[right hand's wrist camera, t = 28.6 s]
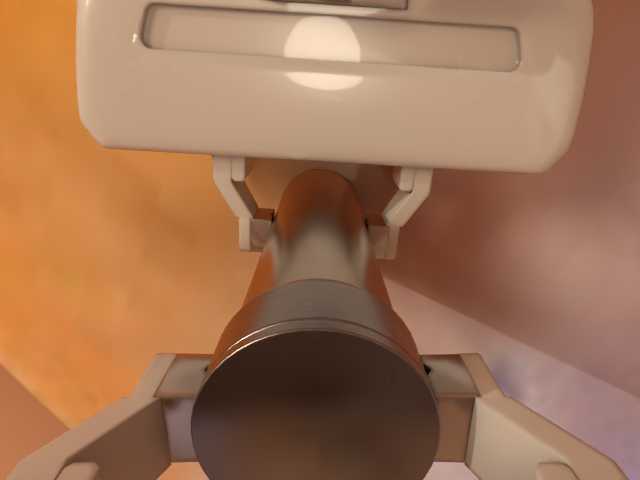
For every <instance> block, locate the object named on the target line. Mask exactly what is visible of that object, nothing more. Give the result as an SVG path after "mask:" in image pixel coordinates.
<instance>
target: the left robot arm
mask: <svg viewBox="0 0 640 480" xmlns="http://www.w3.org/2000/svg"><path fill="white" fill-rule="evenodd" d="M76 3H77V22H76V80H77V97H78V109H79V116H80V120H81V122H82V124H83V126H84V127H85V128H86V129H87V131H88V132H89V133H90V134H91V135H92V137H93V138H94V139H95V140H96V141H97V142H98V143H99V144H100V145H101V146H102V147H104V148H108V149H122V150H138V151H155V152H171V153H188V154H204V155H213V181H214V182H215V184H216V185H217V187H218V189H219V190H220V192H221V194H222V195H223V197H224V198H225V200H226V202H227V203H228V205H229V206H230V208H231V210H232V211H233V213H234V214H235V216H236V217H237V218H239V248H240V251H244V252H262V251H263V248H264V245H265V243H266V240H267V237H268V234H269V232H270V229H271V226H272V223H273V221H274V218H275V209H266V208H258V205H257V203H256V201H255V200H254V198H253V196H252V194H251V192H250V190H249V188H248V187H247V185H246V183H245V181H244V179H245V178H246V177H247V176H248V174H249V173H250V172H251V170H252V157H254V158H271V159H287V160H304V161H320V162H337V163H353V164H370V165H386V166H393V175H392V179H393V180H394V182H395V183H396V184H397V186H398V187H399V189H398V191H397V192H396V194H395V195H394V196H393V198H392V199H391V201H390V202H389V204H388V205H387V206H386V208H385V209H384V211H383V212H382V213H381V215H367V214H365V218H364V222H365V225H366V228H367V231H368V235H369V238H370V241H371V244H372V247H373V250H374V253H375V256H376V259H387V260H394V259H395V257H396V253H397V246H398V238H399V231H400V227H403V226H404V225H405V224H406V222H407V221H408V220H409V219H410V218H411V216H412V215H413V214H414V213H415V211H416V210H417V209H418V208H419V206H420V205H421V204H422V203H423V201H424V200H425V199H426V198H427V197H428V195H429V194H430V190H431V183H432V177H433V171H434V168H436V169H452V170H469V171H485V172H502V173H518V174H535V175H539V174H544V173H545V172H547V171H548V170H549V169H550V168H552V167H553V166H554V165H555V164H556V163H557V162H558V161H559V160H560V159H561V158H562V157H563V156H564V155H565V154H566V153H567V152H568V150H569V148H570V146H571V143H572V141H573V138H574V134H575V131H576V127H577V123H578V119H579V115H580V111H581V106H582V102H583V97H584V92H585V88H586V82H587V76H588V71H589V65H590V58H591V52H592V45H593V36H594V8H593V3H592V0H76Z"/></svg>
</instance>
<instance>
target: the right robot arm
mask: <svg viewBox="0 0 640 480" xmlns="http://www.w3.org/2000/svg"><path fill="white" fill-rule="evenodd" d="M212 357H213V354H177V353H159V354H157V355H155V356H154V358H153V360H152V361H151V363H150V365H149V366H148V368H147V369H146V371H145V373H144V374H143V376H142V378H141V379H140V381H139V383H138V384H137V386H136V388H135V389H134V391H133V393H132V394H131V396H130V397H123V398H122V399H120V400H119V401H117V402H115V403H114V404H112V405H110V406H109V407H107V408H105V409H104V410H102V411H101V412H99V413H97V414H96V415H94V416H92V417H91V418H89V419H87V420H86V421H84V422H83V423H81V424H79V425H78V426H76V427H74V428H73V429H71V430H70V431H68V432H66V433H65V434H63V435H61V436H60V437H58V438H56V439H55V440H53V441H52V442H50V443H48V444H47V445H45V446H43V447H42V448H40V449H38V450H37V451H35V452H34V453H32V454H30V455H29V456H27V457H26V458H24V459H22V460H21V461H20V462H19V463H18V464H17V466H16V467H15V468H14V470H13V471H12V472H11V473H10V475H9V476H8V477H7V478H6V480H156V479H157V478H158V477H159V476H160V475H161V474H162V473H163V472H164V471H165V470H166V469H167V468H168V467H169V466H170V465H171V462H199V461H198V459H197V457H196V454H195V451H194V448H193V443H192V437H191V415H192V409H193V405H194V402H195V399H196V396H197V393H198V391H199V388H200V386H201V384H202V381H203V379H204V376H205V374H206V371H207V369H208V367H209V364H210V362H211V359H212ZM420 358H421V361H422V363H423V366H424V369H425V372H426V374H427V377H428V380H429V383H430V385H431V388H432V391H433V394H434V396H435V399H436V402H437V406H438V410H439V414H440V424H441V432H440V442H439V446H438V450H437V454H436V457H435V459H434V461H433V462H465V465H466V466H467V467H468V468H469V469H470V470H471V471H472V472H473V473H474V474H475V475H476V476H477V477H478V478H479V479H480V480H629V479H628V478H627V477H626V475H625V474H624V473H623V471H622V470H621V469H620V467H619V466H618V465H617V464H616V462H615V461H614V460H612V459H610V458H609V457H607V456H606V455H604V454H602V453H601V452H599V451H598V450H596V449H594V448H593V447H591V446H589V445H588V444H586V443H585V442H583V441H581V440H580V439H578V438H577V437H575V436H573V435H572V434H570V433H569V432H567V431H565V430H564V429H562V428H560V427H559V426H557V425H556V424H554V423H552V422H551V421H549V420H548V419H546V418H544V417H543V416H541V415H540V414H538V413H536V412H535V411H533V410H531V409H530V408H528V407H527V406H525V405H523V404H522V403H520V402H519V401H517V400H515V399H514V398H512V397H505V395H504V394H503V392H502V390H501V388H500V387H499V385H498V383H497V382H496V380H495V378H494V377H493V375H492V373H491V372H490V370H489V368H488V367H487V365H486V363H485V362H484V360H483V358H482V356H481V355H480V354H478V353H467V354H444V355H420Z"/></svg>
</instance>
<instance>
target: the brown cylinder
mask: <svg viewBox="0 0 640 480" xmlns="http://www.w3.org/2000/svg"><path fill="white" fill-rule="evenodd" d="M304 281H327V282H336V283H340V284H345V285H349V286H352V287H355V288H358V289H361V290H363V291H365V292H367V293H369V294H371V295H373V296H375V297H377V298H378V299H380V300H381V301H382V302H384V303H385V304H387V305H388V306H389V307H390V308H391V309H392V310H393V308H392V305H391V302H390V299H389V296H388V292H387V289H386V286H385V283H384V280H383V277H382V274H381V271H380V268H379V265H378V262H377V259H376V256H375V253H374V250H373V247H372V244H371V241H370V238H369V235H368V231H367V228H366V225H365V222H364V219H363V216H362V213H361V210H360V207H359V204H358V201H357V198H356V195H355V192H354V190H353V188H352V187H351V185H350V184H349V183H348V182H347V180H346V179H344V178H343V177H342V176H340V175H339V174H337V173H335V172H332V171H329V170H324V169H315V170H309V171H306V172H303V173H301V174H300V175H298V176H296V177H295V178H294V179H293V180H292V181H291V182H290V183H289V184H288V186H287V187H286V189H285V191H284V193H283V196H282V198H281V201H280V204H279V207H278V209H277V212H276V215H275V218H274V221H273V223H272V226H271V229H270V232H269V234H268V237H267V240H266V243H265V245H264V248H263V251H262V254H261V256H260V259H259V262H258V265H257V267H256V270H255V273H254V276H253V278H252V281H251V284H250V287H249V289H248V292H247V295H246V298H245V300H244V303H243V306H242V307H244V306H245V305H246V304H248V303H249V302H250V301H252V300H253V299H255V298H256V297H258V296H260V295H262V294H263V293H265V292H267V291H270V290H272V289H275V288H277V287H280V286H284V285H288V284H291V283H298V282H304Z"/></svg>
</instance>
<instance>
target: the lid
mask: <svg viewBox="0 0 640 480" xmlns="http://www.w3.org/2000/svg"><path fill="white" fill-rule="evenodd" d="M440 432H441V424H440V414H439V410H438V406H437V402H436V399H435V396H434V394H433V391H432V388H431V385H430V383H429V380H428V377H427V374H426V372H425V369H424V366H423V363H422V361H421V358H420V355H419V352H418V350H417V347H416V344H415V342H414V339H413V337H412V335H411V333H410V331H409V329H408V328H407V326H406V325H405V323H404V322H403V320H402V319H401V318H400V317H399V316H398V315H397V313H396V312H395V311H393V310H392V309H391V308H390V307H389V306H388V305H387V304H385V303H384V302H382V301H381V300H380V299H378V298H377V297H375V296H373V295H371V294H369V293H367V292H365V291H363V290H361V289H358V288H355V287H352V286H349V285H345V284H340V283H336V282H327V281H304V282H298V283H291V284H288V285H284V286H280V287H277V288H275V289H272V290H270V291H267V292H265V293H263V294H262V295H260V296H258V297H256V298H255V299H253V300H252V301H250V302H249V303H248V304H246V305H245V306H244V307H242V308H241V309H240V311H239V312H238V313H237V314H236V315H235V316H234V317H233V318H232V319H231V321H230V322H229V323H228V325H227V326H226V328H225V330H224V332H223V334H222V335H221V337H220V340H219V342H218V345H217V347H216V350H215V352H214V354H213V357H212V359H211V362H210V364H209V367H208V369H207V371H206V374H205V376H204V379H203V381H202V384H201V386H200V388H199V391H198V393H197V396H196V399H195V402H194V405H193V409H192V415H191V437H192V443H193V448H194V451H195V454H196V457H197V459H198V461H199V463H200V465H201V467H202V469H203V471H204V472H205V474H206V475H207V477H208V478H209V479H210V480H423V479H424V478H425V476H426V474H427V473H428V471H429V469H430V468H431V466H432V464H433V461H434V459H435V457H436V454H437V450H438V446H439V442H440Z"/></svg>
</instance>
